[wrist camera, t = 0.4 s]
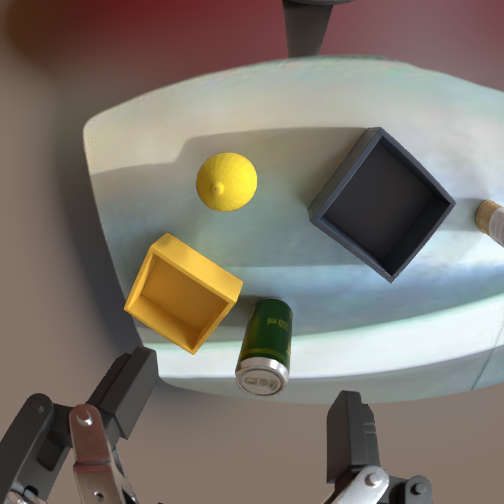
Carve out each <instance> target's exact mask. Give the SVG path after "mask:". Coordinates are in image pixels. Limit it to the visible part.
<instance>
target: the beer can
mask: <svg viewBox="0 0 504 504" xmlns="http://www.w3.org/2000/svg"><path fill="white" fill-rule="evenodd" d="M292 316H293V313H292V311H291V308H290V307H289V306H288V305H287V303H286V302H285V301H283V300H281V299H279V298H276V297H267V298H263V299H261V300H260V301H258V302H257V303H256V304H255V305H254V306H253V307H252V310H251V313H250V317H249V321H248V324H247V328H246V332H245V336H244V339H243V343H242V347H241V351H240V354H239V358H238V362H237V365H236V369H235V375H236V378H235V380H236V384H237V386H238V387H239V389H241V390H242V391H243V392H245V393H247V394H249V395H251V396H255V397H263V398H267V397H273V396H276V395H279V394H280V393H281V392H283V391H284V389H285V387H286V383H287V382H288V380H289V369H290V354H291V337H292Z"/></svg>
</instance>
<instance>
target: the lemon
mask: <svg viewBox="0 0 504 504" xmlns="http://www.w3.org/2000/svg"><path fill="white" fill-rule="evenodd" d="M256 186H257V175H256V172H255V169H254V167H253V166H252V164H251V163H250V161H248V160H247V159H246V158H245V157H243V156H241V155H239V154H236V153H231V152H228V153H220V154H217V155H214V156H213V157H211V158H210V159H208V160H207V161H206V162H205V163H204V164H203V165H202V167H201V168H200V170H199V172H198V175H197V180H196V188H197V192H198V195H199V197H200V198H201V200H202V201H203V202H204V203H205V204H206V205H207V206H208V207H210V208H211V209H214V210H217V211H223V212H227V211H234V210H236V209H239V208H241V207H243V206H244V205H245V204H246V203H248V202H249V200H250V199H251V198H252V197H253V195H254V192H255V190H256Z"/></svg>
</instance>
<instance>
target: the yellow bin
mask: <svg viewBox="0 0 504 504" xmlns="http://www.w3.org/2000/svg"><path fill="white" fill-rule="evenodd" d="M242 284H243V281H241V280H240V279H238V278H237V277H235V276H234V275H232V274H230V273H229V272H227V271H226V270H224V269H223V268H221V267H220V266H218V265H217V264H215V263H214V262H212V261H210V260H209V259H207V258H206V257H204V256H203V255H201V254H200V253H198V252H197V251H195V250H194V249H192V248H191V247H189V246H188V245H186V244H185V243H183V242H182V241H180V240H179V239H177V238H176V237H174V236H173V235H171V234H170V233H168V232H167V233H166V234H164V235H163V236H162V237H161V238H159V239H158V240H157V241H156V242H155V243H154V244H152V245H151V246H150V248H149V250H148V253H147V255H146V257H145V259H144V261H143V264H142V266H141V268H140V270H139V273H138V275H137V277H136V280H135V282H134V284H133V287H132V289H131V292H130V294H129V296H128V299H127V301H126V304H125V307H124V310H125V311H127V312H128V313H129V314H131V315H132V316H134V317H135V318H137V319H138V320H139V321H141V322H142V323H144V324H145V325H147V326H148V327H150V328H151V329H153V330H154V331H156V332H157V333H159V334H160V335H162V336H163V337H165V338H167V339H168V340H170V341H171V342H173V343H175V344H176V345H178V346H179V347H181V348H183V349H184V350H186V351H188V352H189V353H191V354H193V355H194V354H195V353H196V352H197V351H198V349H199V348H200V347H201V346H202V344H203V343H204V342H205V341H206V339H207V338H208V337H209V336H210V334H211V333H212V332H213V331H214V329H215V328H216V327H217V326H218V324H219V323H220V322H221V321H222V319H223V318H224V317H225V316H226V314H227V313H228V312H229V311H230V309H231V308H232V307H233V305H234V304H235V303H236V301H237V298H238V296H239V293H240V290H241V287H242Z"/></svg>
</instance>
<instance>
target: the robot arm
mask: <svg viewBox="0 0 504 504" xmlns="http://www.w3.org/2000/svg"><path fill="white" fill-rule="evenodd" d="M157 379H158V364H157V355H156V351H155V350H153V349H150V348H147V347H144V346H140V345H139V346H137V347H136V349H135V350H134V352H133V353H132V355H131V354H128V353H124V354H123V355H121V356H120V357H118V358H117V359H116V360H115V361H114V363H113V364H112V366H111V367H110V369H109V370H108V372H107V373H106V376H104V377H103V379H102V380H101V382H100V383H99V385H98V386H97V388H96V389H95V391H94V392H93V394H92V395H91V397H90V398H89V400H88V401H87V402H86V403H84V404H79V405H77V406H75V407H68V406H63V405H59V404H55V403H52V401H51V400H50V398H49V397H48V396H46V395H44V394H41V393H37V394H33V395H31V396H30V397H29V398H28V399H27V401H26V402H25V404H24V405H23V407H22V408H21V410H20V411H19V413H18V414H17V416H16V417H15V419H14V421H13V422H12V424H11V425H10V427H9V429H8V430H7V432H6V434H5V435H4V437H3V439H2V440H1V442H0V504H47V502H46V501H47V498H48V496H49V494H50V491H51V489H52V487H53V485H54V482H55V480H56V478H57V476H58V474H59V471H60V469H61V467H62V465H63V463H64V461H65V459H66V457H67V455H68V453H69V450H70V448H73V449H74V454H75V461H76V462H75V464H74V465H73V472H74V477H75V481H76V485H77V489H78V492H79V496H80V499H81V503H82V504H139V503H138V500H137V498H136V495H135V493H134V491H133V489H132V486H131V485H130V483H129V481H128V478H127V475H126V473H125V470H124V467H123V463H122V460H121V457H120V454H119V450H118V447H117V442H118V440H119V438H120V437H122V438H124V439H127V440H128V438H129V436H130V434H131V432H132V430H133V428H134V426H135V424H136V422H137V420H138V418H139V416H140V414H141V412H142V410H143V408H144V406H145V404H146V402H147V400H148V398H149V396H150V394H151V392H152V390H153V388H154V386H155V384H156V382H157ZM374 424H375V422H374V415H373V412H372V411H371V409H370V407H369V406H368V404H362V402H361V395H360V393H359V392H356V391H345V390H342V391H341V392H340V394H339V395H338V397H337V398H336V400H335V401H334V403H333V404H332V406H331V408H330V409H329V411H328V415H327V483H335V489H334V490H333V491H332V492H331V493H330V494H329V495H328V497H327V498H326V499H325V500H324V501H323V502H322V503H321V504H433V503H432V490H431V484H430V482H429V480H428V479H427V478H426V477H423V476H420V475H419V476H414V477H412V478H410V479H409V480H406V479H402V478H397V477H393V476H390V475H388V474H387V472H386V471H385V470H384V469H383V468H382V467H381V465H380V461H379V452H378V445H377V436H376V434H375V433H376V429H375V426H374ZM158 504H162V503H158Z"/></svg>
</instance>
